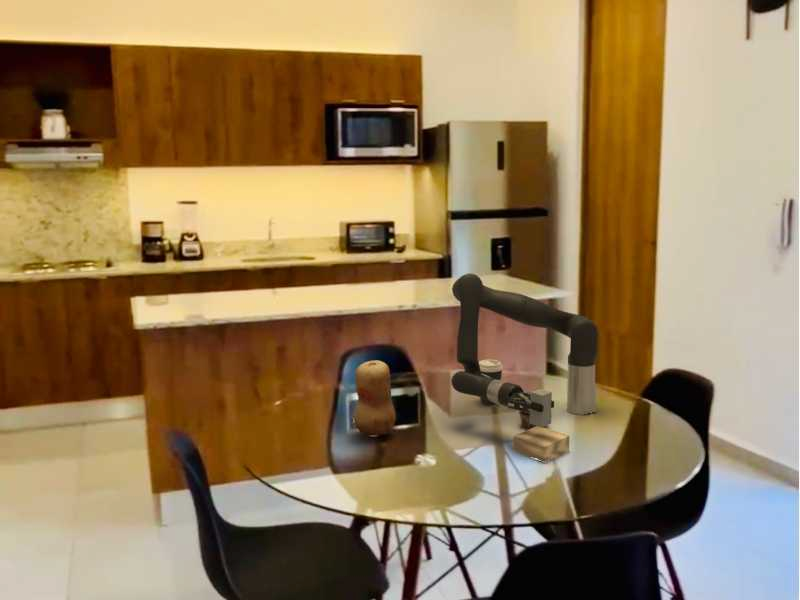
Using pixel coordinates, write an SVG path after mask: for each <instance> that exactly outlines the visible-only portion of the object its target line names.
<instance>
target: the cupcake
mask: <svg viewBox="0 0 800 600" xmlns="http://www.w3.org/2000/svg"><path fill="white" fill-rule="evenodd" d="M521 408H522V407H521ZM518 411H519V413H518V414H519V416H520V421H521V427H522V428H523V429H525V430H526V431H527V430H529V429H531V428H534V427H536V425H533V424H530V410H528V409H527V411H521V410H518ZM546 426H547V425H546ZM546 426H544V427H543V428H546Z"/></svg>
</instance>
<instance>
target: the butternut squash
mask: <svg viewBox="0 0 800 600" xmlns="http://www.w3.org/2000/svg"><path fill="white" fill-rule="evenodd" d="M355 390H356V393H357V394H356V395H357V398H358V399H357V403H356V407H355V410H354V415H353V422H354V426H355V427H356V429H357V430H358V431H359V432H360V433H361V434H364V435H365V434H366V436H367V435H380V436H382V435H381V434H383V435H386V434H385V433H388V432H389V433H390V432H391V431H392V429H393V428H394V426H395V422H396V420H397V414H396V410H395V406H394V404H393V401H392V386H391V369H390V368H389V366H388V364H387V363H385V361H381V360H377V359H376V360H375V359H374V360H369V361H365V362H363V363H361V364H360V365H359V366H358V367H357V369H356V371H355ZM389 433H388V434H389Z"/></svg>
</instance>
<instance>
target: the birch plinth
mask: <svg viewBox="0 0 800 600" xmlns="http://www.w3.org/2000/svg"><path fill="white" fill-rule="evenodd" d="M513 451H515V452H514V453H516V454H519V455H522V456H525V457H528V458H530V457H533V458H537V459H539V460H541V461H544V462H545V461H547V462H549V461H548V460H550V461H552V460H553V458H554V459H556V458H558V457H560V456H562V455H564V454H567V453H568V452H570V436H569V435H568V434H565V433H561V432H558V431H556V430H552V429H549V428H546V427H545V428H543V427H539V426H536V427H534V428H531V429H529V430H527V429H526V430H524V431H523V432H520V433H517V434H514V435H513V436H512V452H513ZM533 458H532V459H533ZM551 459H552V460H551ZM541 461H540V462H541ZM544 462H543V463H544ZM545 463H546V462H545Z"/></svg>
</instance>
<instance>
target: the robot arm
mask: <svg viewBox="0 0 800 600" xmlns="http://www.w3.org/2000/svg"><path fill="white" fill-rule="evenodd" d="M451 291H452V296H454V298H455V299H456V300H457V301H458V302H459V303H460V304H459V306H460V315H459V318H460V319H459V325H458V329H457V331H458V332H457V338H456V361H457V363H458V364H461V365H462V366H463V370H460V371H456V372H455V373H454V374H453V375H452V377H451V386H452V388H453V389H454V390H455V391H456V392H458V393H460V394H465V395H468V396H476V397H479V398H480V399H481V398H484V399H487V400H490V401H492V402H494V403H497V404H496V405H500V406H503V407H506V408H508V409H512V410H516V411H519V410H521V411H527V409H528V410H535V411H538V412H543V411H544V406H543V405H541V404H538V403H535V402H533V403H532V401H530V393H531V392H529V391H524V390H523V388H522V386H520V385H519V384H516V383H512V382H509V381H505V380H502V379H501V380H496V379H492V378H489V377H482V374H481V370H480V365H479V362H480V361H479V358H478V357H479V320H480V319H479V317H480V308H483V309H486V310H488V311H491V312H494V313H495V314H498V315H499V316H500V315H501V316H502V317H505V318H507V319H511V320H513V321H514V322H515V321H516V322H517V323H521V324H523V325H526V326H530V327H535V328H536V327H537V328H542V329H550V330H551V331H554V332H558V333H559V334H561V335H563V336H566V337H568V338H569V339H570V345H569V346H570V348H569V349H570V350H569V354H568V355H567V381H566V382H567V383H566V386H567V387H566V390H567V391H566V393H567V394H566V411H567V412H568V411H569V413H570V412H571V414H574V415H581V416H583V415H584V414H586V415H589V414H588V413H591V412H594V411H596V412H597V385H596V382H595V381H596V380H595V379H596V359H597V356H598V346H599V344H598V342H599V332H598V327H597V325H596V324H595V323H594V322H593V321H592V320H591V319H589V318H588V317H587V316H584V315H581V314H576V313H573V312H572V313H571V312H567V311H564V310H561V309H559V308H555V307H554V306H552V305H549V304H547V303H546V302H543V301H540V300H538V299H536V298H533V297H531V296H527V295H525V294H523V293H522V294H521V293H517V292H512V291H505V290H498V289H494V288H491V287H489V286H486V285H484V284H483V281H482V279H481V278H480V277H479V276H478V275H476V273H475V274H474V273H465V274H464V275H463V274H462V275H461V276H460V277H459V278H457V279H456V280H455V282H454V283H453V285H452V288H451ZM521 407H522V408H521ZM554 408H555V401H554V400H552V403H551V409H554ZM591 414H592V413H591Z"/></svg>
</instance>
